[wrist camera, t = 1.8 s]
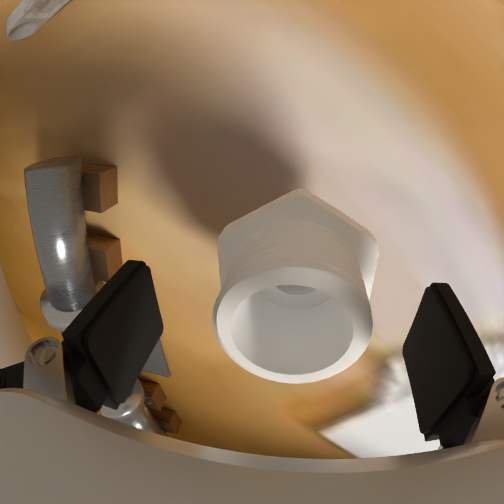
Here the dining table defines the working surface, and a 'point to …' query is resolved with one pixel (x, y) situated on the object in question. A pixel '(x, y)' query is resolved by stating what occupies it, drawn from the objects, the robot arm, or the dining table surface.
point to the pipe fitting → (295, 289)
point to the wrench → (31, 17)
